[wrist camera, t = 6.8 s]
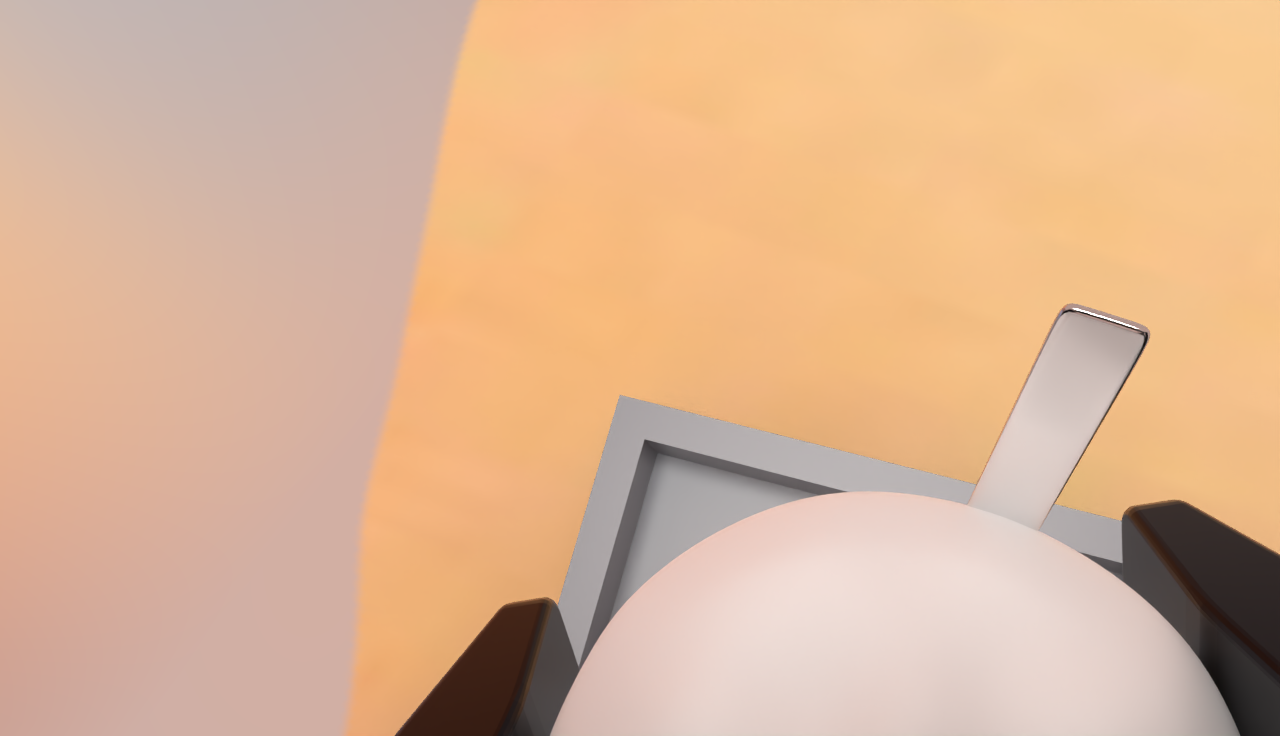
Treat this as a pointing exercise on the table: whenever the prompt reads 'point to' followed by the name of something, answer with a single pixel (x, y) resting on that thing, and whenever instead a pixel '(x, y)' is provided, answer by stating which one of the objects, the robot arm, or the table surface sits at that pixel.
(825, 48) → the table surface
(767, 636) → the milkshake
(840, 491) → the tray
